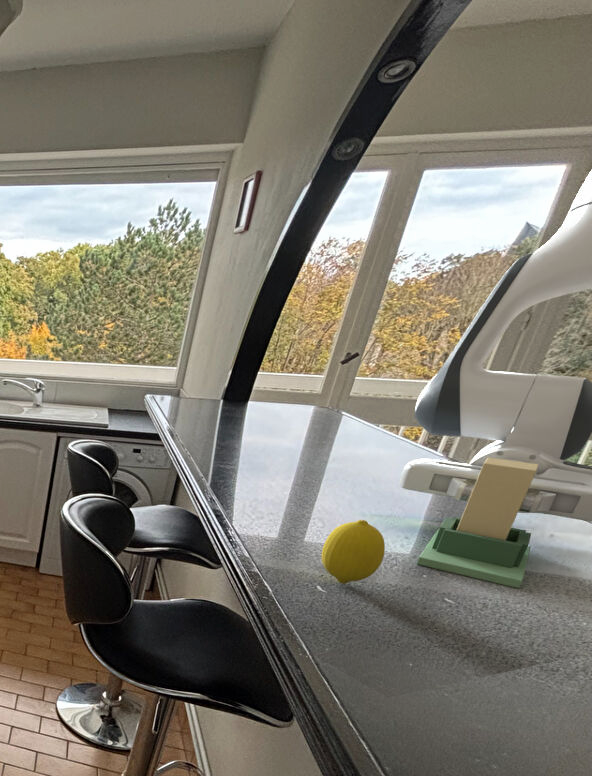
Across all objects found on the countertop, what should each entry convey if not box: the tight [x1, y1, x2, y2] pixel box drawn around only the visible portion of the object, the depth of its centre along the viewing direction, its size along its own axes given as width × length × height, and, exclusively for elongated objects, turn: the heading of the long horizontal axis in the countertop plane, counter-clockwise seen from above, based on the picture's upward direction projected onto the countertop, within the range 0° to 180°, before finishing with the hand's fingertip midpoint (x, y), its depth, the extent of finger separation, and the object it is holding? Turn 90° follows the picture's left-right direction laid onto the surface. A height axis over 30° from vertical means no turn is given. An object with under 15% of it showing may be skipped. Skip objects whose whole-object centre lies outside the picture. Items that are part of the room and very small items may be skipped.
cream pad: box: [456, 458, 538, 540], centre depth 74 cm, size 4×4×10 cm
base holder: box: [416, 516, 532, 589], centre depth 76 cm, size 16×9×4 cm, turn 131°
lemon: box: [321, 519, 386, 585], centre depth 68 cm, size 6×6×8 cm
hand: (496, 499), depth 73 cm, fingers closed on cream pad, 4 cm apart
